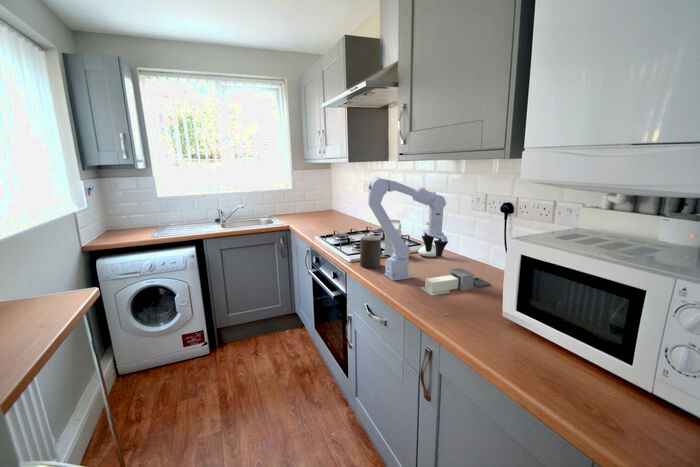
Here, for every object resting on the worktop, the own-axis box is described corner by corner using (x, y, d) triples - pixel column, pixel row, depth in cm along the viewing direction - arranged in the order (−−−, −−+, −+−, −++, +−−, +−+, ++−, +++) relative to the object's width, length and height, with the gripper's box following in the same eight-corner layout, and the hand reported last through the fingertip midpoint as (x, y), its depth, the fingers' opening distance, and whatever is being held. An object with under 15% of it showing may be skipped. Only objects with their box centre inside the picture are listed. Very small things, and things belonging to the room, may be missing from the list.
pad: (431, 295, 119) (431, 295, 119) (419, 287, 126) (419, 287, 126) (450, 292, 122) (450, 292, 121) (438, 284, 129) (438, 284, 129)
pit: (477, 287, 126) (478, 285, 126) (465, 281, 133) (465, 278, 133) (490, 285, 128) (490, 283, 128) (477, 279, 135) (477, 277, 135)
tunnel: (462, 290, 123) (463, 276, 122) (449, 283, 131) (450, 269, 129) (472, 288, 125) (473, 274, 124) (459, 281, 132) (460, 268, 131)
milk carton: (397, 257, 165) (398, 221, 161) (384, 255, 168) (385, 220, 163) (400, 253, 172) (401, 219, 168) (387, 252, 174) (388, 218, 170)
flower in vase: (441, 258, 162) (445, 210, 157) (419, 258, 164) (421, 210, 158) (437, 251, 175) (440, 206, 169) (416, 251, 176) (418, 206, 170)
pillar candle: (367, 270, 146) (368, 238, 143) (356, 264, 155) (356, 234, 151) (384, 266, 151) (385, 236, 148) (372, 261, 159) (373, 232, 156)
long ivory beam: (431, 292, 121) (432, 282, 120) (424, 288, 125) (425, 278, 124) (457, 288, 125) (458, 278, 124) (450, 284, 129) (451, 275, 128)
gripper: (454, 225, 129) (451, 257, 132) (433, 219, 142) (431, 248, 145) (439, 226, 126) (437, 259, 129) (419, 220, 140) (418, 250, 143)
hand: (433, 253), depth 137 cm, fingers open, 7 cm apart
